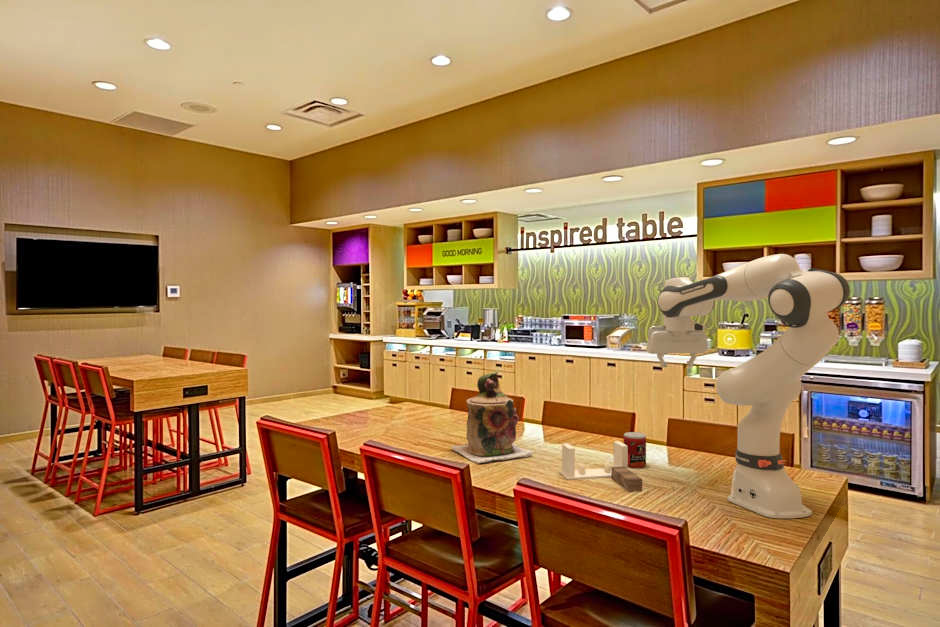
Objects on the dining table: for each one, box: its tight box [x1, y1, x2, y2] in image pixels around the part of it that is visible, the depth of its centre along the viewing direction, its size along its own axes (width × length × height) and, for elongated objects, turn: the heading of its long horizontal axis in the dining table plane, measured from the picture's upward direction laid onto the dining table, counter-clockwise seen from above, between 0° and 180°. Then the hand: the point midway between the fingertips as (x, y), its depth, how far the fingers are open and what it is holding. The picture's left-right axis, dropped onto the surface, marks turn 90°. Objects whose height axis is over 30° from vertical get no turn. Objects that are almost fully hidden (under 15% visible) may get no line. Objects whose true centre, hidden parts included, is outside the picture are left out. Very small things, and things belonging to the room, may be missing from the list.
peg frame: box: [559, 440, 629, 480], centre depth 198 cm, size 22×8×10 cm, turn 99°
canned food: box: [623, 431, 647, 469], centre depth 208 cm, size 8×8×11 cm
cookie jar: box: [451, 369, 535, 464], centre depth 226 cm, size 25×25×32 cm
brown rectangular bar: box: [610, 466, 643, 493], centre depth 187 cm, size 14×4×4 cm, turn 8°
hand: (676, 366), depth 196 cm, fingers open, 8 cm apart
